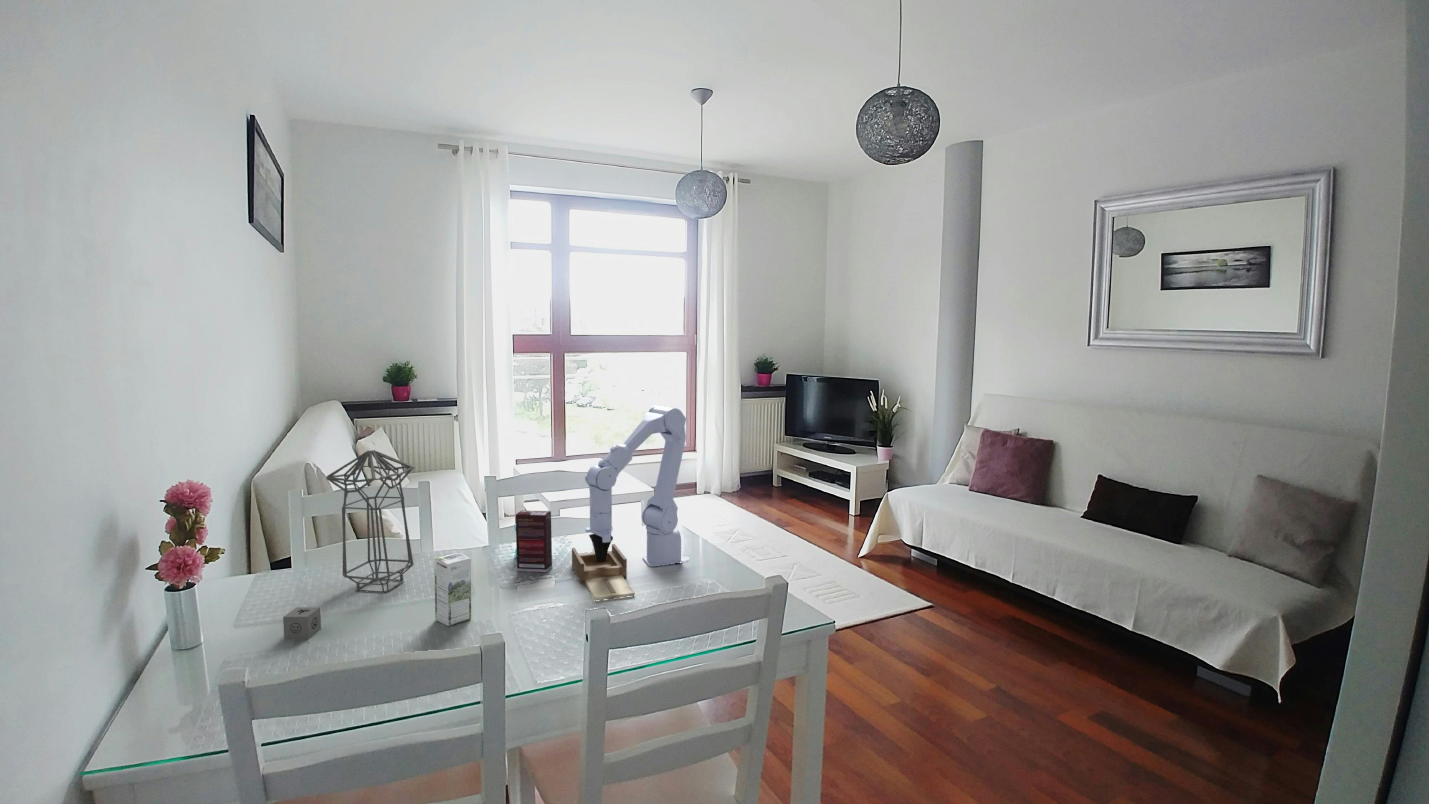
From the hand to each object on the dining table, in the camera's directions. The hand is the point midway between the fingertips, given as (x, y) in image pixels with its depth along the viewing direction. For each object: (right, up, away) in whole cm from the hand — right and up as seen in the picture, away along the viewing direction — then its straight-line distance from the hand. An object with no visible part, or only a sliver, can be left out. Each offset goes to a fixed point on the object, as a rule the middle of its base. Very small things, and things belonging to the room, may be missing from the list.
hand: (601, 561), depth 185 cm
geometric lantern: (-55, -4, -9) cm, 56 cm away
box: (-1, -4, +3) cm, 5 cm away
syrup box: (-28, -7, -29) cm, 41 cm away
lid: (+4, -6, -9) cm, 11 cm away
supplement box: (-19, -4, +5) cm, 20 cm away
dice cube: (-58, -7, -37) cm, 69 cm away
